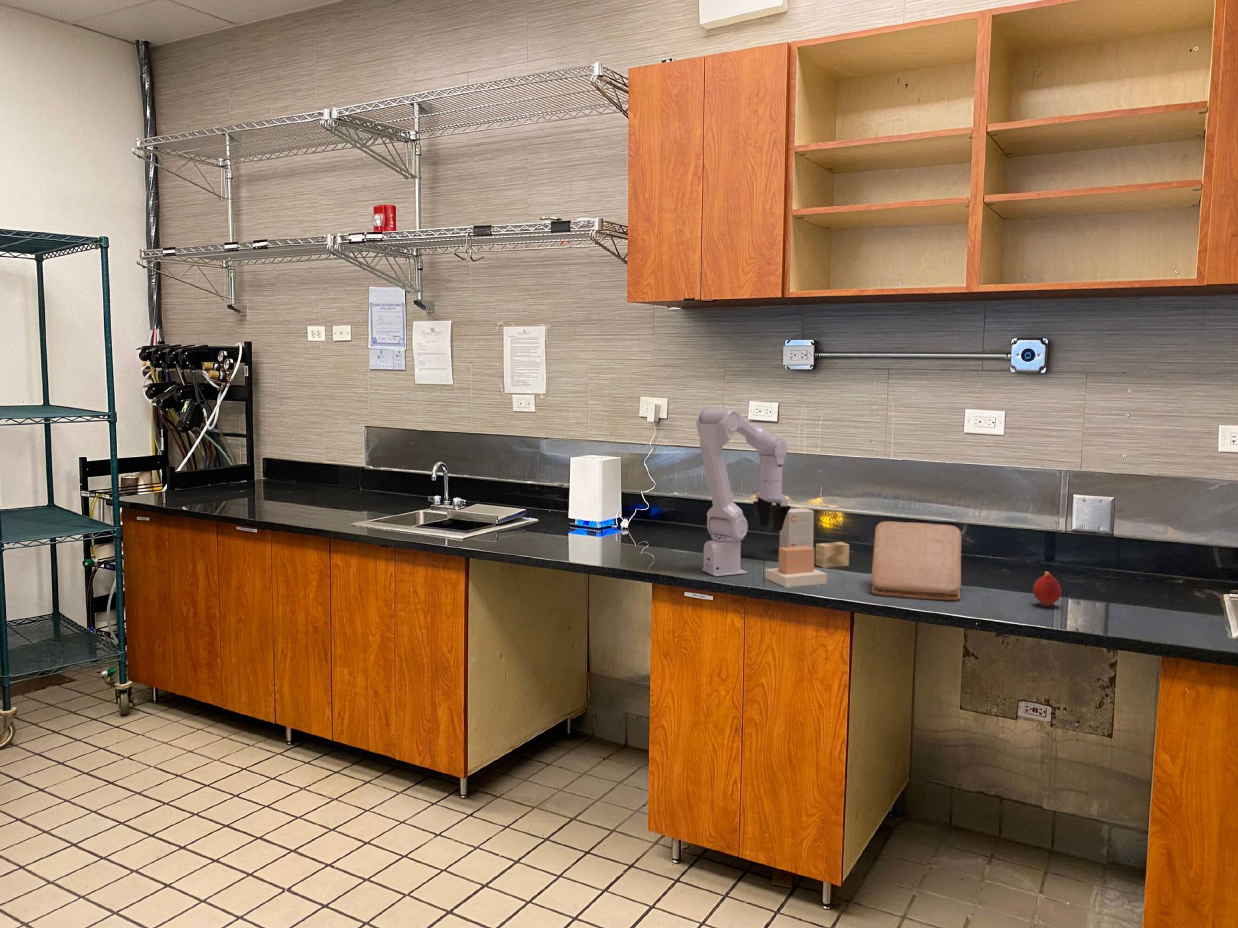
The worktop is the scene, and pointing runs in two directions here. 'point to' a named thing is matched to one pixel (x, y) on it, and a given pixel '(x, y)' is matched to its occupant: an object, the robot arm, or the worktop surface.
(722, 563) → the robot arm
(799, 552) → the terracotta brick
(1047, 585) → the onion
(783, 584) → the base block
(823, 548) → the light oak brick
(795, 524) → the small box
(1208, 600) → the worktop surface
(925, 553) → the case
